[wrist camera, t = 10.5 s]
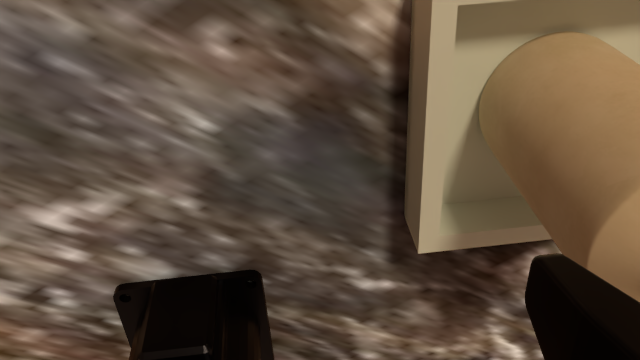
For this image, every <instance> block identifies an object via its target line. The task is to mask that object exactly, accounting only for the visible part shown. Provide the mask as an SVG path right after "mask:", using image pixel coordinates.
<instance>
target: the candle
mask: <svg viewBox="0 0 640 360" xmlns="http://www.w3.org/2000/svg"><path fill="white" fill-rule="evenodd" d="M479 123H480V128H481V131H482V133H483V136H484V139H485V141H486V142H487V144H488V146H489V147H490V149H491V151H492V152H493V154H494V155H495V157H496V158H497V160H498V161H499V163H500V164H501V165H502V167H503V168H504V170H505V171H506V173H507V174H508V176H509V177H510V178H511V180H512V181H513V183H514V184H515V186H516V187H517V189H518V190H519V191H520V193H521V194H522V196H523V197H524V199H525V200H526V202H527V203H528V205H529V206H530V207H531V209H532V210H533V212H534V213H535V215H536V216H537V218H538V219H539V220H540V222H541V223H542V225H543V226H544V228H545V229H546V231H547V232H548V233H549V235H550V236H551V238H552V239H553V241H554V242H555V244H556V245H557V247H558V248H559V249H560V251H561V252H562V254H563V255H565V256H567V257H568V258H570V259H571V260H573V261H575V262H576V263H578V264H579V265H581V266H583V267H584V268H586V269H587V270H589V271H591V272H592V273H594V274H595V275H597V276H599V277H600V278H602V279H603V280H605V281H607V282H608V283H610V284H611V285H613V286H615V287H616V288H618V289H619V290H621V291H623V292H624V293H626V294H627V295H629V296H631V297H632V298H634V299H635V300H637V301H639V302H640V65H639V64H638V63H636V62H635V61H633V60H632V59H630V58H629V57H627V56H626V55H624V54H623V53H621V52H620V51H618V50H617V49H615V48H614V47H612V46H610V45H609V44H607V43H606V42H604V41H602V40H600V39H599V38H597V37H594V36H591V35H588V34H585V33H580V32H573V31H562V32H554V33H550V34H545V35H543V36H540V37H537V38H535V39H532V40H530V41H528V42H526V43H525V44H523V45H521V46H520V47H518V48H517V49H515V50H514V51H513V52H512V53H510V54H509V55H508V56H507V57H506V58H505V59H504V60H503V61H502V62H501V63H500V64H499V65H498V66H497V68H496V69H495V70H494V72H493V73H492V74H491V76H490V77H489V79H488V81H487V83H486V85H485V87H484V90H483V92H482V95H481V99H480V103H479Z"/></svg>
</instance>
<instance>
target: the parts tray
mask: <svg viewBox="0 0 640 360" xmlns="http://www.w3.org/2000/svg"><path fill="white" fill-rule="evenodd" d="M562 31H573V32H580V33H585V34H588V35H591V36H594V37H597V38H599V39H600V40H602V41H604V42H606V43H607V44H609V45H610V46H612V47H614V48H615V49H617V50H618V51H620V52H621V53H623V54H624V55H626V56H627V57H629V58H630V59H632V60H633V61H635V62H636V63H638V64H639V65H640V0H412V11H411V39H410V67H409V94H408V122H407V150H406V178H405V205H404V217H405V220H406V222H407V225H408V228H409V230H410V233H411V236H412V238H413V241H414V244H415V247H416V249H417V252H418V254H421V253H430V252H439V251H448V250H457V249H466V248H476V247H485V246H494V245H503V244H512V243H521V242H530V241H540V240H549V239H552V238H551V236H550V235H549V233H548V232H547V231H546V229H545V228H544V226H543V225H542V223H541V222H540V220H539V219H538V218H537V216H536V215H535V213H534V212H533V210H532V209H531V207H530V206H529V205H528V203H527V202H526V200H525V199H524V197H523V196H522V194H521V193H520V191H519V190H518V189H517V187H516V186H515V184H514V183H513V181H512V180H511V178H510V177H509V176H508V174H507V173H506V171H505V170H504V168H503V167H502V165H501V164H500V163H499V161H498V160H497V158H496V157H495V155H494V154H493V152H492V151H491V149H490V147H489V146H488V144H487V142H486V141H485V139H484V136H483V133H482V131H481V128H480V123H479V103H480V99H481V95H482V92H483V90H484V87H485V85H486V83H487V81H488V79H489V77H490V76H491V74H492V73H493V72H494V70H495V69H496V68H497V66H498V65H499V64H500V63H501V62H502V61H503V60H504V59H505V58H506V57H507V56H508V55H509V54H510V53H512V52H513V51H514V50H515V49H517V48H518V47H520V46H521V45H523V44H525V43H526V42H528V41H530V40H532V39H535V38H537V37H540V36H543V35H545V34H550V33H554V32H562Z"/></svg>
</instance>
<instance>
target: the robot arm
mask: <svg viewBox="0 0 640 360" xmlns="http://www.w3.org/2000/svg"><path fill="white" fill-rule="evenodd" d="M249 280H253V281H254V282H247V281H249ZM122 294H127V295H129V296H125V295H122ZM113 298H114V302H115V305H116V308H117V310H118V313H119V316H120V319H121V322H122V324H123V327H124V330H125V333H126V336H127V338H128V341H129V344H130V347H131V352H130V357H129V360H274V353H273V347H272V340H271V333H270V327H269V320H268V313H267V307H266V300H265V293H264V287H263V280H262V276H261V274H260V273H259V272H258V271H255V270H244V271H235V272H226V273H216V274H207V275H198V276H189V277H180V278H171V279H161V280H152V281H143V282H134V283H125V284H121V285H119V286H117V287H116V289H115V292H114V296H113ZM525 304H526V308H527V311H528V314H529V317H530V320H531V323H532V326H533V328H534V331H535V334H536V337H537V340H538V343H539V345H540V348H541V351H542V354H543V357H544V360H640V302H639V301H637V300H635V299H634V298H632V297H631V296H629V295H627V294H626V293H624V292H623V291H621V290H619V289H618V288H616V287H615V286H613V285H611V284H610V283H608V282H607V281H605V280H603V279H602V278H600V277H599V276H597V275H595V274H594V273H592V272H591V271H589V270H587V269H586V268H584V267H583V266H581V265H579V264H578V263H576V262H575V261H573V260H571V259H570V258H568V257H567V256H565V255H563V254H557V253H556V254H547V255H539V256H536V257H535V258H534V259H533V260H532V263H531V267H530V271H529V276H528V281H527V286H526V291H525Z"/></svg>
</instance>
